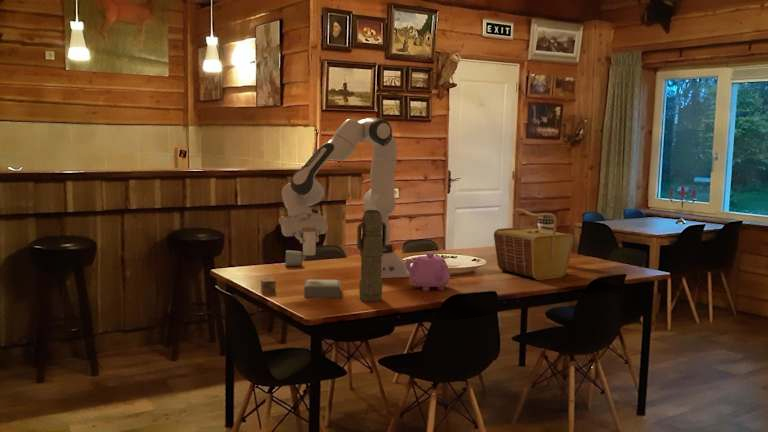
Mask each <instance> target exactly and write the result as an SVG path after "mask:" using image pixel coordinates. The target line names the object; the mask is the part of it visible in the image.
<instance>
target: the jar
mask: <svg viewBox="0 0 768 432" xmlns="http://www.w3.org/2000/svg"><path fill="white" fill-rule="evenodd" d="M302 238H304V240H305V242H304V243H302V254H303V256H315V255H316V243H317V242H316V228H312V227H308V228H303V235H302Z"/></svg>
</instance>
